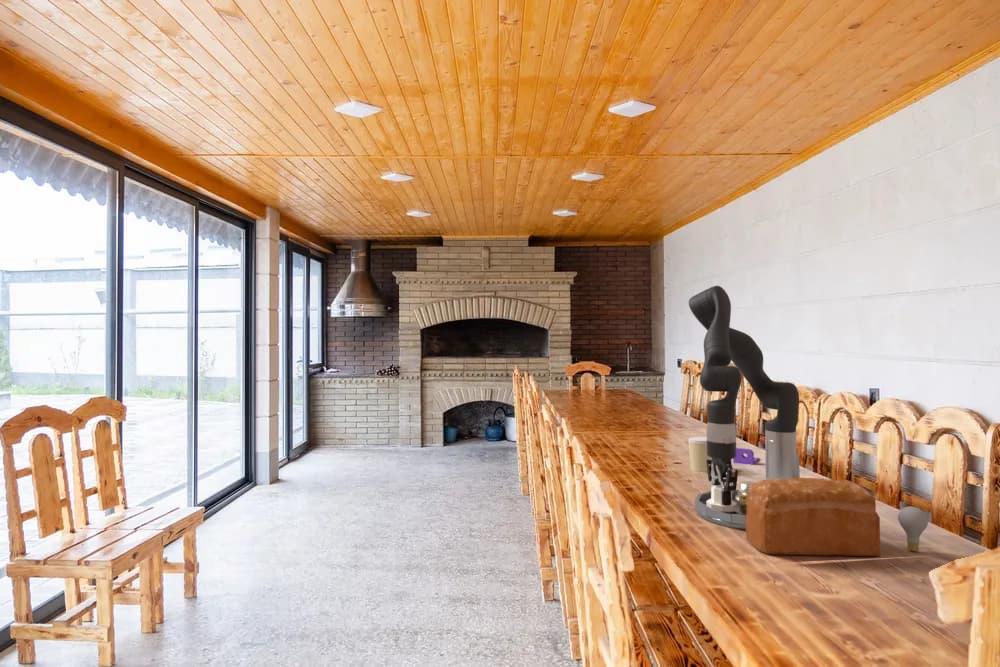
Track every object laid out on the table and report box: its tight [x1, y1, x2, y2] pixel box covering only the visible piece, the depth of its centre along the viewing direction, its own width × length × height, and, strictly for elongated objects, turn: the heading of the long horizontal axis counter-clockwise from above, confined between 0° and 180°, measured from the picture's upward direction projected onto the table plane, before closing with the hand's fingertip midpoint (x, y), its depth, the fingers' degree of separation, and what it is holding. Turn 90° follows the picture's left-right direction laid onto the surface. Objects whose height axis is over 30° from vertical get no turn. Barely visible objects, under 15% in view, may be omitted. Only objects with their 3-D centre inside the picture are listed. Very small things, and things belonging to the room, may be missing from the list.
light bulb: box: [897, 506, 929, 553], centre depth 129 cm, size 5×5×10 cm
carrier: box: [694, 480, 756, 531], centre depth 156 cm, size 27×27×7 cm
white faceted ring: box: [706, 485, 737, 512], centre depth 155 cm, size 7×7×6 cm
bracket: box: [732, 447, 761, 466], centre depth 221 cm, size 12×7×7 cm, turn 143°
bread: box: [745, 477, 881, 557], centre depth 133 cm, size 14×26×16 cm, turn 86°
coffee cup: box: [687, 436, 712, 474], centre depth 208 cm, size 9×9×12 cm
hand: (721, 501), depth 155 cm, fingers closed on white faceted ring, 5 cm apart
